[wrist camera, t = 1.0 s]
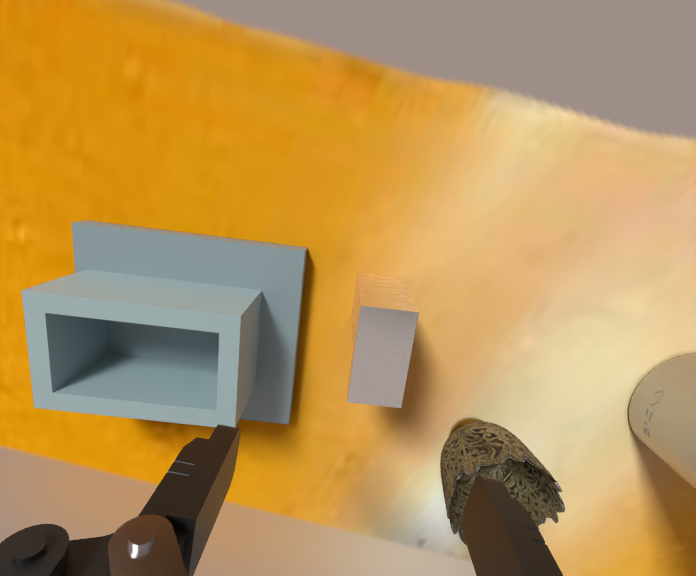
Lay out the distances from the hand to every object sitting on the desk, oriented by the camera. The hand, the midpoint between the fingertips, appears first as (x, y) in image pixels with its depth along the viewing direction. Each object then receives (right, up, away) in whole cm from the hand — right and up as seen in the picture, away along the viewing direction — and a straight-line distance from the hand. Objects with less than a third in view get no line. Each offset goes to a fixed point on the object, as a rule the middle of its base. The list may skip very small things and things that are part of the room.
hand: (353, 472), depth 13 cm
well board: (-12, +3, +17) cm, 21 cm away
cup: (+10, -6, +20) cm, 23 cm away
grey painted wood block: (+2, +4, +17) cm, 17 cm away
